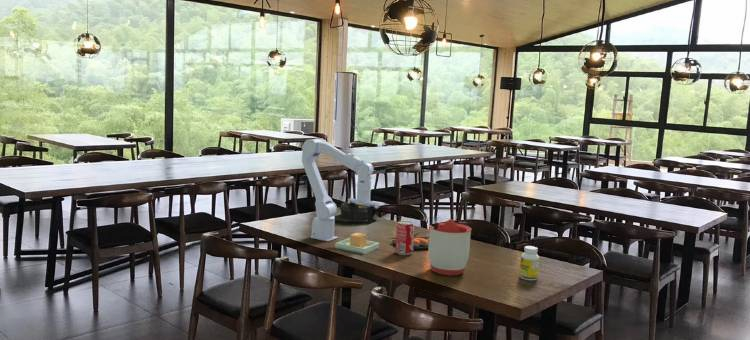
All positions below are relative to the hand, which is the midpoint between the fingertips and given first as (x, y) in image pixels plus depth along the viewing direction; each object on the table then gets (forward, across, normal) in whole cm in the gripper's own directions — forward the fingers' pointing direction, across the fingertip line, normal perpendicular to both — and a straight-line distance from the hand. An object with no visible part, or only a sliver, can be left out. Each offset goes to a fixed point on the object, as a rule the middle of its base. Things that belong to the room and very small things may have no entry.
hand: (362, 222), depth 256 cm
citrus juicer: (+10, +45, -11) cm, 47 cm away
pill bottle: (+9, +73, +1) cm, 73 cm away
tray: (+9, +3, -7) cm, 12 cm away
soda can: (+10, +22, -1) cm, 24 cm away
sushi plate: (+10, +17, +22) cm, 29 cm away
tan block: (+9, +3, -7) cm, 12 cm away
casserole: (+10, -26, +35) cm, 45 cm away
